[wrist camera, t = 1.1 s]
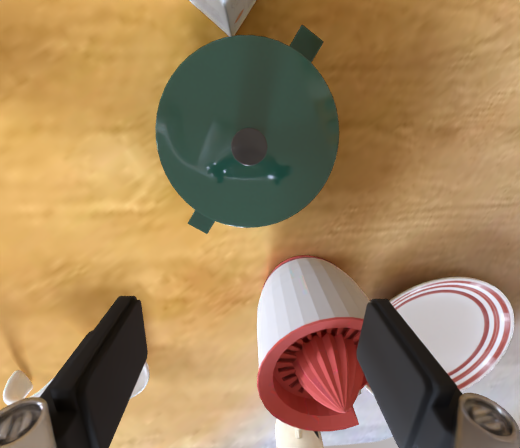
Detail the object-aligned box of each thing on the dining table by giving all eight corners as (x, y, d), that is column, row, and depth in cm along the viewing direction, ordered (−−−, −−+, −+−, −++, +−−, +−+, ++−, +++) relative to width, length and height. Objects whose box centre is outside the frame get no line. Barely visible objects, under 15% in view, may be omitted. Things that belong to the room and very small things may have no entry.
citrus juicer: (309, 344, 47) (350, 489, 28) (233, 291, 43) (222, 422, 24) (376, 286, 44) (474, 409, 25) (301, 221, 39) (351, 312, 20)
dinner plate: (517, 258, 43) (538, 268, 40) (484, 380, 53) (499, 396, 49) (347, 278, 43) (355, 290, 40) (346, 397, 52) (353, 414, 49)
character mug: (310, 402, 52) (329, 486, 40) (274, 407, 52) (282, 492, 40) (306, 361, 49) (326, 440, 36) (268, 366, 49) (275, 447, 36)
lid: (130, 170, 27) (98, 183, 21) (214, -9, 22) (202, -57, 16) (273, 250, 30) (279, 279, 25) (371, 112, 26) (407, 109, 20)
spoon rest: (139, 322, 44) (119, 358, 37) (165, 373, 48) (152, 413, 41) (5, 354, 45) (-37, 395, 38) (42, 401, 49) (10, 445, 42)
